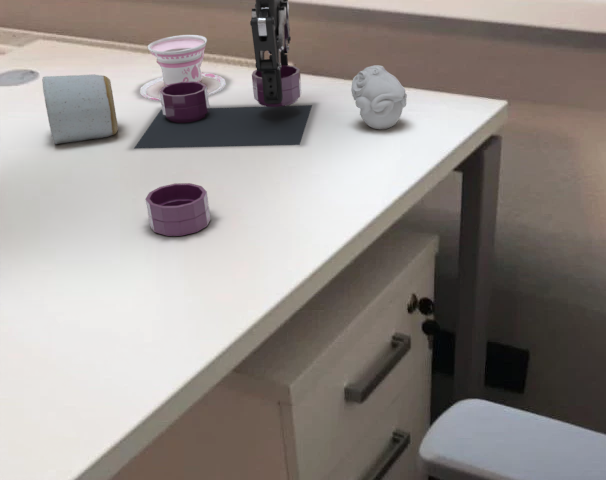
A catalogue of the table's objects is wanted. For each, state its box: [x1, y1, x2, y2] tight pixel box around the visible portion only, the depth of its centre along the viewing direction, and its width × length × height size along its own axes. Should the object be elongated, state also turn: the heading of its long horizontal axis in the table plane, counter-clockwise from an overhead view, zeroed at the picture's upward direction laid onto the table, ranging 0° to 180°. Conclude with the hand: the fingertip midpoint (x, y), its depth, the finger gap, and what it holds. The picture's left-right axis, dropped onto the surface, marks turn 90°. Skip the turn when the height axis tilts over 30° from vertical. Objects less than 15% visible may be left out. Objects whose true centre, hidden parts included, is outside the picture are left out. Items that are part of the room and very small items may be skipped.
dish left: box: [158, 81, 211, 123], centre depth 112 cm, size 6×6×3 cm
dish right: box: [251, 64, 302, 107], centre depth 109 cm, size 6×6×3 cm
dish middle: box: [144, 182, 211, 237], centre depth 87 cm, size 6×6×3 cm
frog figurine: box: [350, 64, 408, 130], centre depth 104 cm, size 6×7×7 cm
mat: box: [133, 104, 313, 150], centre depth 109 cm, size 20×14×1 cm
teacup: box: [139, 34, 227, 102], centre depth 121 cm, size 12×12×6 cm
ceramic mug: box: [42, 73, 119, 145], centre depth 109 cm, size 11×8×8 cm
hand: (277, 93), depth 110 cm, fingers closed on dish right, 6 cm apart
